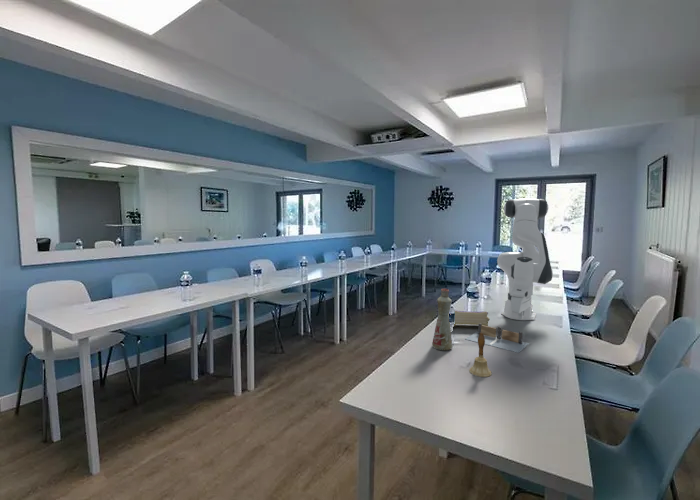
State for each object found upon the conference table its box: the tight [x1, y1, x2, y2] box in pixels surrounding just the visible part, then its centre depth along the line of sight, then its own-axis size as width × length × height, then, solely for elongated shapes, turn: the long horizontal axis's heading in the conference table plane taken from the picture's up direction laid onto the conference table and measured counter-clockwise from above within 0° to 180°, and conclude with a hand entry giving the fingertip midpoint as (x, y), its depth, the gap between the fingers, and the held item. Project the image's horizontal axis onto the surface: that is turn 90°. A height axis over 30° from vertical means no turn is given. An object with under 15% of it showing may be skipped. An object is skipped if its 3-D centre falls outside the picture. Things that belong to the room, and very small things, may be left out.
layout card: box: [465, 331, 530, 354], centre depth 174 cm, size 15×25×1 cm, turn 48°
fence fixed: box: [477, 323, 502, 339], centre depth 181 cm, size 2×11×6 cm, turn 49°
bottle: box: [431, 288, 453, 352], centre depth 164 cm, size 9×9×28 cm
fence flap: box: [501, 329, 523, 344], centre depth 174 cm, size 9×2×5 cm, turn 48°
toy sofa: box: [453, 310, 490, 327], centre depth 196 cm, size 21×9×10 cm, turn 87°
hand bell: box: [468, 332, 492, 378], centre depth 140 cm, size 8×8×16 cm
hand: (521, 318), depth 176 cm, fingers closed
